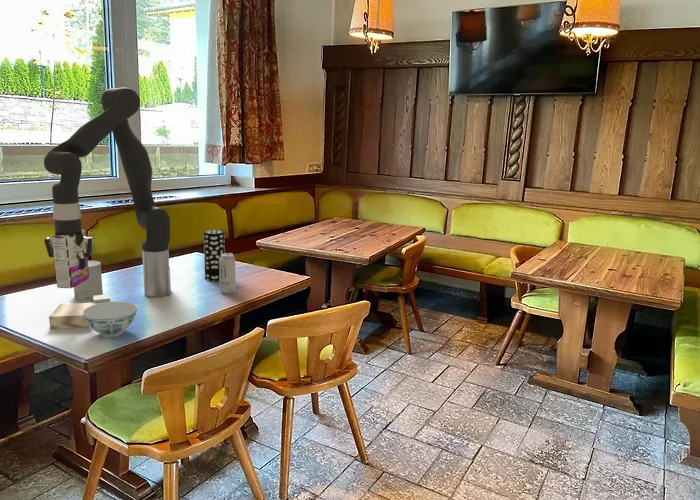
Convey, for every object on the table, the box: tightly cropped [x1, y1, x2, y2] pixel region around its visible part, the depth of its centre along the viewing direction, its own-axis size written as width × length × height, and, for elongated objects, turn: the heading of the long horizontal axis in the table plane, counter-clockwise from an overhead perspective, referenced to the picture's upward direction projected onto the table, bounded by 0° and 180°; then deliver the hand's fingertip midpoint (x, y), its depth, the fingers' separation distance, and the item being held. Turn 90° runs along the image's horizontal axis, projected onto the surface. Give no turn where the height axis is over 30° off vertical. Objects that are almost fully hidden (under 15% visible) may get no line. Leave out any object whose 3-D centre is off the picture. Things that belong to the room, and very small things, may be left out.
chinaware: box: [83, 301, 138, 338], centre depth 162 cm, size 15×15×8 cm
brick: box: [92, 293, 111, 303], centre depth 181 cm, size 5×5×5 cm
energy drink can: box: [218, 252, 236, 295], centre depth 204 cm, size 6×6×15 cm
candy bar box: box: [51, 229, 89, 289], centre depth 166 cm, size 11×5×16 cm, turn 179°
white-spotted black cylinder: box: [203, 229, 226, 282], centre depth 220 cm, size 8×8×20 cm
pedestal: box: [48, 302, 100, 330], centre depth 171 cm, size 12×12×4 cm
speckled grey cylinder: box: [73, 259, 104, 301], centre depth 194 cm, size 10×10×12 cm
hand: (71, 269), depth 167 cm, fingers closed on candy bar box, 5 cm apart
